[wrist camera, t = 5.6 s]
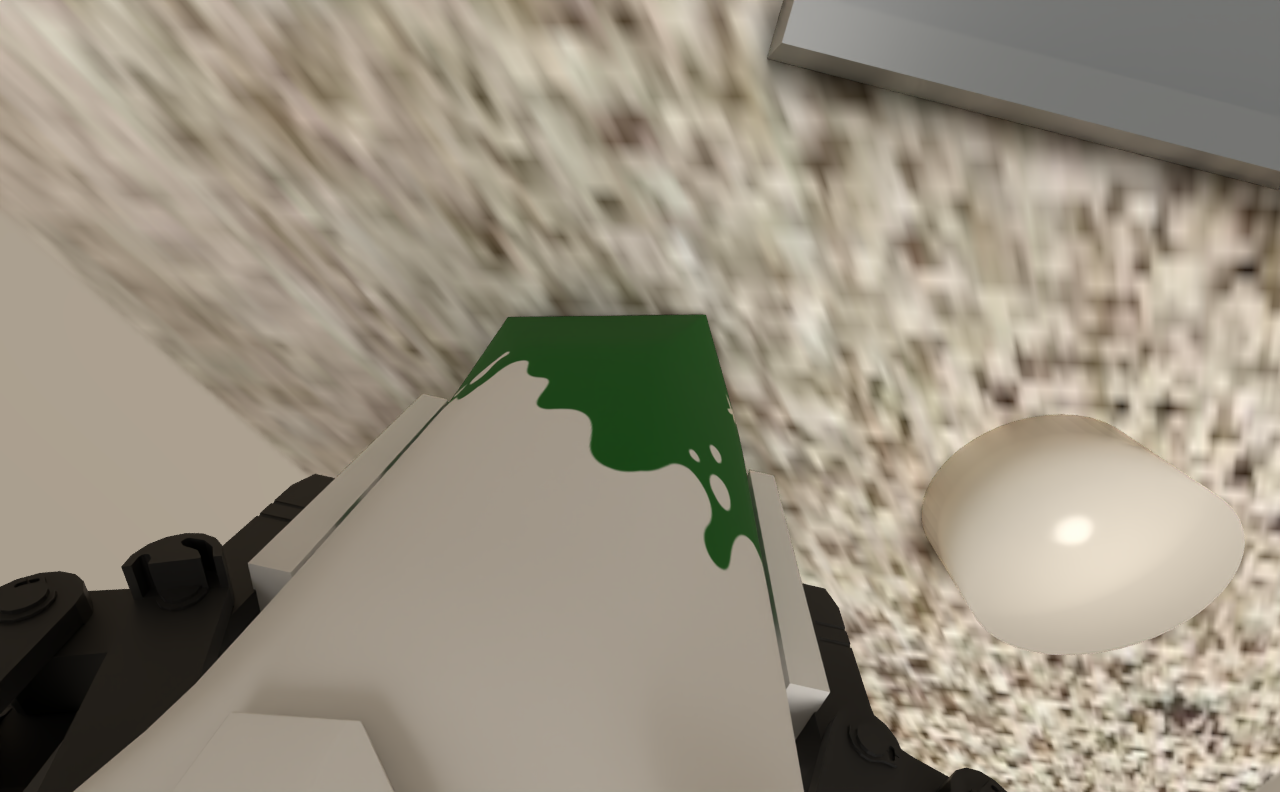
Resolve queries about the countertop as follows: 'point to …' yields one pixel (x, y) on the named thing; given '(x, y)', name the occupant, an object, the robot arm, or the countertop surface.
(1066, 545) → the cream glossy pebble
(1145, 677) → the countertop surface
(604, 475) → the soya milk
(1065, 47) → the tray
